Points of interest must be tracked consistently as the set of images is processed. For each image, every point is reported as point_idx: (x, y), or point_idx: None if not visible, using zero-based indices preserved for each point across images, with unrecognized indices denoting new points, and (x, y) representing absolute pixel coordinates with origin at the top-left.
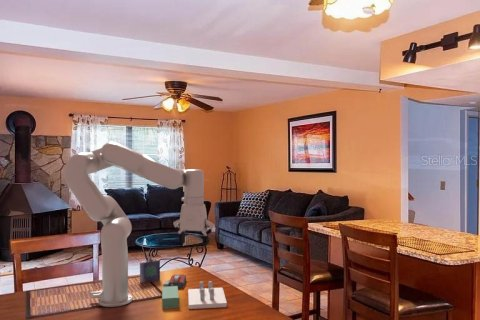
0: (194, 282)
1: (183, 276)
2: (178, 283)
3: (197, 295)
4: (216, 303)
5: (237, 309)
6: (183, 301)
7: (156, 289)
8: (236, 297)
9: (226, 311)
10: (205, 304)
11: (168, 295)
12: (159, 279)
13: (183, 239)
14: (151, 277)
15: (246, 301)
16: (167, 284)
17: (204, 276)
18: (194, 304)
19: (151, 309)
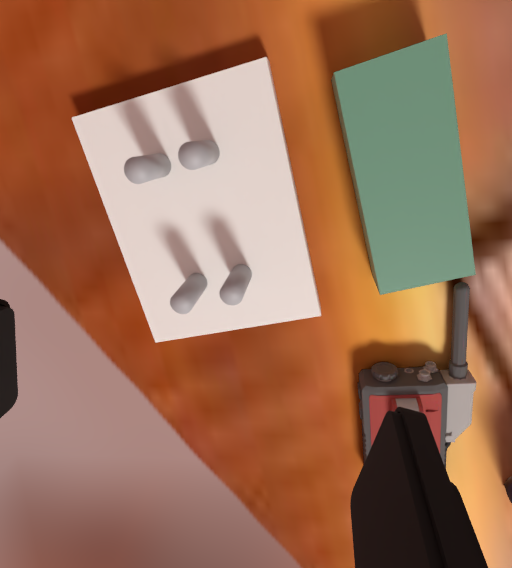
0: (318, 444)
1: None
2: (388, 383)
3: (251, 221)
4: (120, 102)
5: (24, 88)
6: (322, 180)
7: (505, 353)
8: (78, 255)
9: (66, 50)
10: (176, 86)
11: (410, 109)
12: (506, 484)
13: (374, 518)
14: None
15: (19, 205)
16: (450, 381)
17: (287, 512)
18: (234, 68)
19: (496, 22)
